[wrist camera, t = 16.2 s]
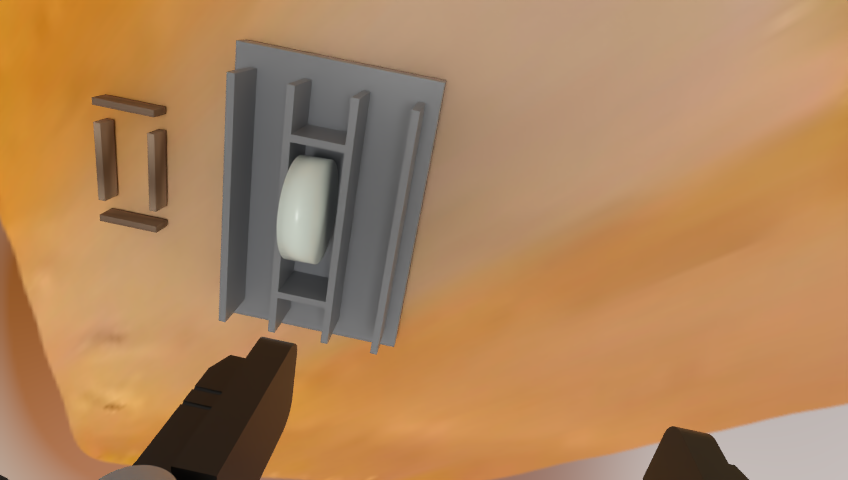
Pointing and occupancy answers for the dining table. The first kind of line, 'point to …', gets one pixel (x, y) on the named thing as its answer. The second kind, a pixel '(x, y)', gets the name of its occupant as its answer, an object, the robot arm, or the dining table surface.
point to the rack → (357, 195)
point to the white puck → (307, 209)
